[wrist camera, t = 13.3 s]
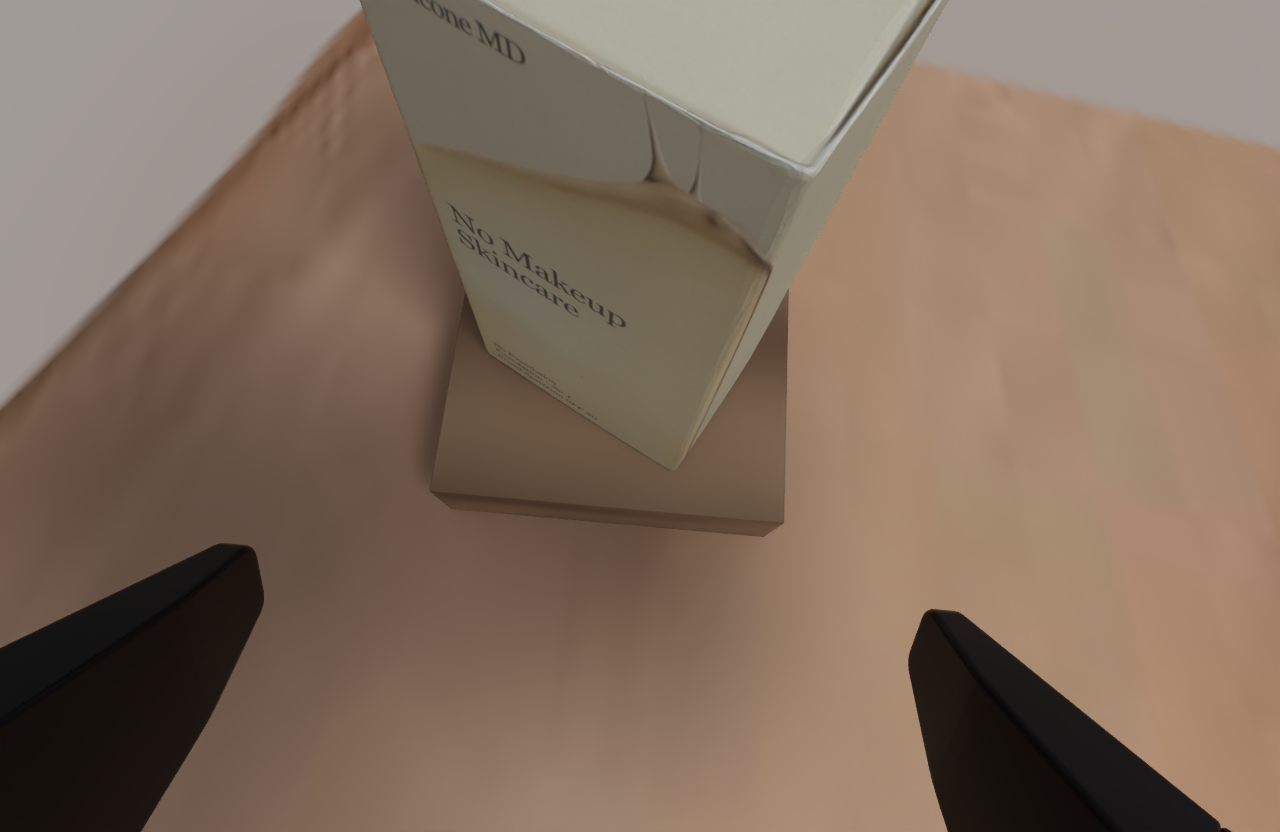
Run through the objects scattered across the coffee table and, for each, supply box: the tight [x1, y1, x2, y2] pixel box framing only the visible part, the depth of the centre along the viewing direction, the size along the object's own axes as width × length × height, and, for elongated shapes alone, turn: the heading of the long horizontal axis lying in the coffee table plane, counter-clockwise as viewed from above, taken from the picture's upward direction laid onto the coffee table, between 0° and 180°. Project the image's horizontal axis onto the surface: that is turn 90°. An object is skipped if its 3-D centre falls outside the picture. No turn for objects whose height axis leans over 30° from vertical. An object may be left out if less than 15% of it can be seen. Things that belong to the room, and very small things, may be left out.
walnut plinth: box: [430, 288, 789, 537], centre depth 20 cm, size 9×9×2 cm
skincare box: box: [360, 0, 948, 471], centre depth 13 cm, size 6×4×12 cm
